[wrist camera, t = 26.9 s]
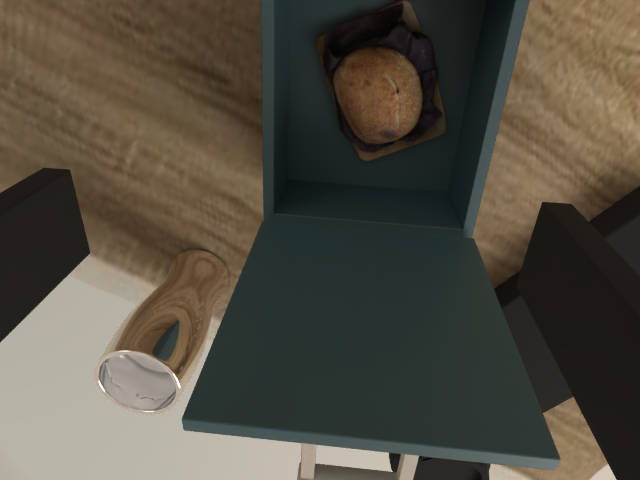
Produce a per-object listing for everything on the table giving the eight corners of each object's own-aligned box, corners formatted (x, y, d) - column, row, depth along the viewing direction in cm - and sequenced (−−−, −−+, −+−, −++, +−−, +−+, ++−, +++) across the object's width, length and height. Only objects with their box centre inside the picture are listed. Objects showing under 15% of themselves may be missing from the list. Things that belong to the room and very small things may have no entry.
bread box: (281, -29, 33) (260, -33, 26) (498, -17, 32) (534, -18, 26) (280, 183, 41) (263, 222, 34) (453, 197, 40) (471, 239, 34)
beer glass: (171, 236, 45) (92, 337, 32) (239, 256, 45) (189, 364, 32) (164, 291, 48) (89, 403, 35) (227, 309, 49) (177, 426, 36)
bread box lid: (180, 419, 19) (198, 521, 23) (562, 459, 18) (508, 558, 22) (262, 220, 34) (264, 304, 38) (474, 237, 33) (452, 322, 37)
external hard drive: (434, 330, 48) (438, 350, 45) (645, 180, 38) (665, 194, 36) (519, 400, 51) (527, 422, 49) (730, 280, 42) (754, 299, 39)
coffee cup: (445, 314, 47) (477, 441, 34) (472, 370, 50) (511, 505, 37) (371, 339, 49) (373, 466, 36) (401, 391, 52) (413, 525, 39)
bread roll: (452, 130, 37) (461, 143, 34) (354, 163, 39) (354, 179, 36) (417, -9, 32) (423, -9, 29) (308, 37, 34) (303, 42, 31)
